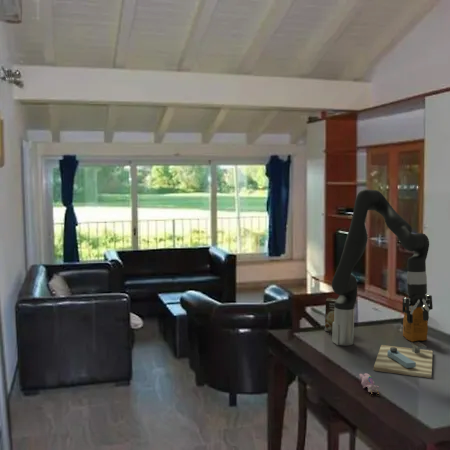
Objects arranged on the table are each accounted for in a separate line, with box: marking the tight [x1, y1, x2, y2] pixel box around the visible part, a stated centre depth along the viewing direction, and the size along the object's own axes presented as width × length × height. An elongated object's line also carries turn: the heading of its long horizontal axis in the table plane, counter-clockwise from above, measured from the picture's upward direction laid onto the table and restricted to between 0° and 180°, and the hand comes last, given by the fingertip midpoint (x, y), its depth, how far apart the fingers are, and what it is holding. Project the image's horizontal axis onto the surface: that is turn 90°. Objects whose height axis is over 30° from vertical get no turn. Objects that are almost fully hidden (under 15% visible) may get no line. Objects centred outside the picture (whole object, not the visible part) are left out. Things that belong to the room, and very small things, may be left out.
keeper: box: [410, 341, 427, 353], centre depth 240 cm, size 4×6×4 cm, turn 12°
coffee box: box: [324, 297, 338, 333], centre depth 279 cm, size 9×6×16 cm
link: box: [387, 350, 416, 368], centre depth 230 cm, size 16×5×2 cm, turn 12°
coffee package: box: [402, 305, 429, 342], centre depth 265 cm, size 10×12×22 cm
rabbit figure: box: [359, 373, 380, 395], centre depth 206 cm, size 6×6×15 cm
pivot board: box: [373, 344, 434, 379], centre depth 234 cm, size 30×22×6 cm
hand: (418, 321), depth 222 cm, fingers open, 8 cm apart
